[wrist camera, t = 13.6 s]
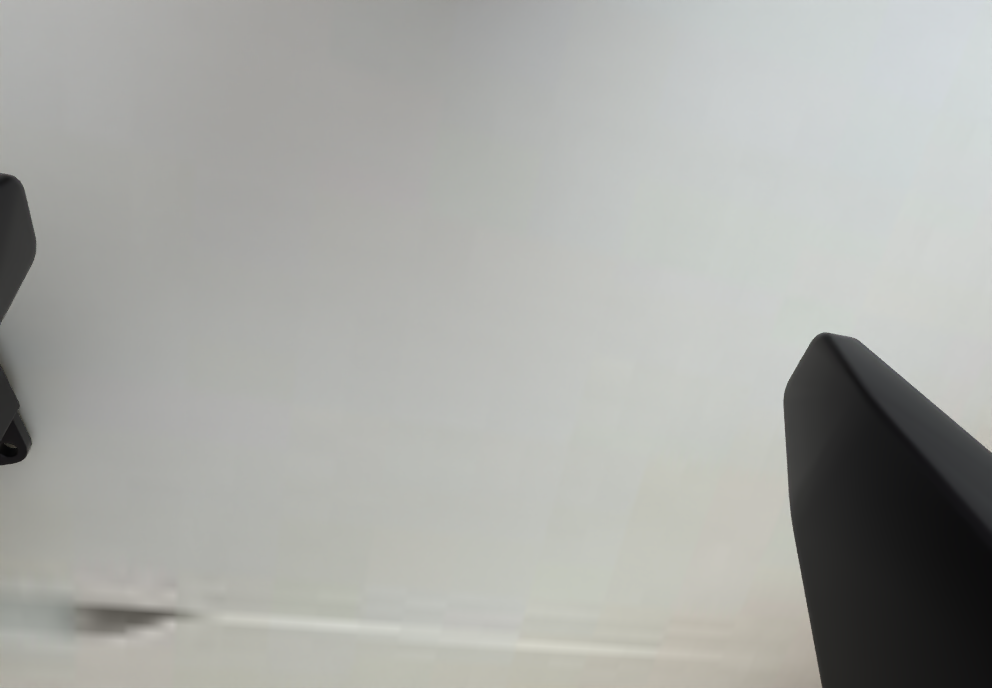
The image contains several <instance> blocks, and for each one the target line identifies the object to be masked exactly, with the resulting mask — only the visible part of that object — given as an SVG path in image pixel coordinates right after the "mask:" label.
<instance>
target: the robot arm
mask: <svg viewBox="0 0 992 688" xmlns="http://www.w3.org/2000/svg"><path fill="white" fill-rule="evenodd" d="M35 254H36V237H35V233H34V228H33V224H32V220H31V215H30V211H29V207H28V202H27V198H26V194H25V190H24V187H23V185H22V183H21V182H20V181H19V180H18V179H17V178H16V177H14V176H12V175H8V174H3V173H0V324H1V322H2V320H3V318H4V316H5V314H6V313H7V311H8V309H9V307H10V305H11V303H12V301H13V299H14V297H15V295H16V294H17V292H18V290H19V288H20V286H21V284H22V282H23V280H24V278H25V276H26V275H27V273H28V271H29V269H30V267H31V265H32V263H33V261H34V257H35ZM18 409H19V402H18V400H17V398H16V396H15V394H14V392H13V390H12V388H11V386H10V384H9V382H8V379H7V377H6V375H5V373H4V371H3V369H2V367H1V365H0V465H6V464H13V463H17V462H20V461H22V460H23V459H24V458H26V456H27V454H28V452H29V450H30V448H31V445H32V442H31V438H30V436H29V434H28V432H27V430H26V428H25V426H24V424H23V422H22V420H21V418H20V416H19V413H18ZM784 420H785V437H786V453H787V470H788V486H789V500H790V511H791V518H792V525H793V531H794V537H795V542H796V547H797V553H798V558H799V564H800V569H801V575H802V580H803V585H804V591H805V596H806V602H807V607H808V613H809V618H810V623H811V629H812V634H813V640H814V645H815V651H816V656H817V661H818V667H819V672H820V678H821V683H822V688H992V453H991V452H990V451H989V450H988V449H986V448H985V447H984V446H983V445H982V444H981V443H979V442H978V441H977V440H976V439H975V438H973V437H972V436H971V435H970V434H969V433H968V432H966V431H965V430H964V429H963V428H962V427H960V426H959V425H958V424H957V423H956V422H955V421H953V420H952V419H951V418H950V417H949V416H947V415H946V414H945V413H944V412H943V411H942V410H940V409H939V408H938V407H937V406H936V405H934V404H933V403H932V402H931V401H930V400H929V399H927V398H926V397H925V396H924V395H923V394H921V393H920V392H919V391H918V390H917V389H916V388H914V387H913V386H912V385H911V384H910V383H908V382H907V381H906V380H905V379H904V378H903V377H901V376H900V375H899V374H898V373H897V372H895V371H894V370H893V369H892V368H891V367H890V366H888V365H887V364H886V363H885V362H884V361H882V360H881V359H880V358H879V357H878V356H877V355H875V354H874V353H873V352H872V351H871V350H869V349H868V348H867V347H866V346H865V345H864V344H862V343H861V342H860V341H859V340H857V339H855V338H852V337H848V336H842V335H837V334H832V333H821V334H819V335H817V336H816V337H815V338H814V339H813V340H812V342H811V343H810V345H809V346H808V348H807V350H806V352H805V353H804V355H803V357H802V359H801V360H800V362H799V364H798V365H797V367H796V369H795V371H794V372H793V374H792V376H791V378H790V379H789V381H788V383H787V386H786V389H785V393H784ZM4 443H10V444H13V445H15V446H16V447H17V448H10V447H8V446H6V445H5V444H4Z"/></svg>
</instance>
